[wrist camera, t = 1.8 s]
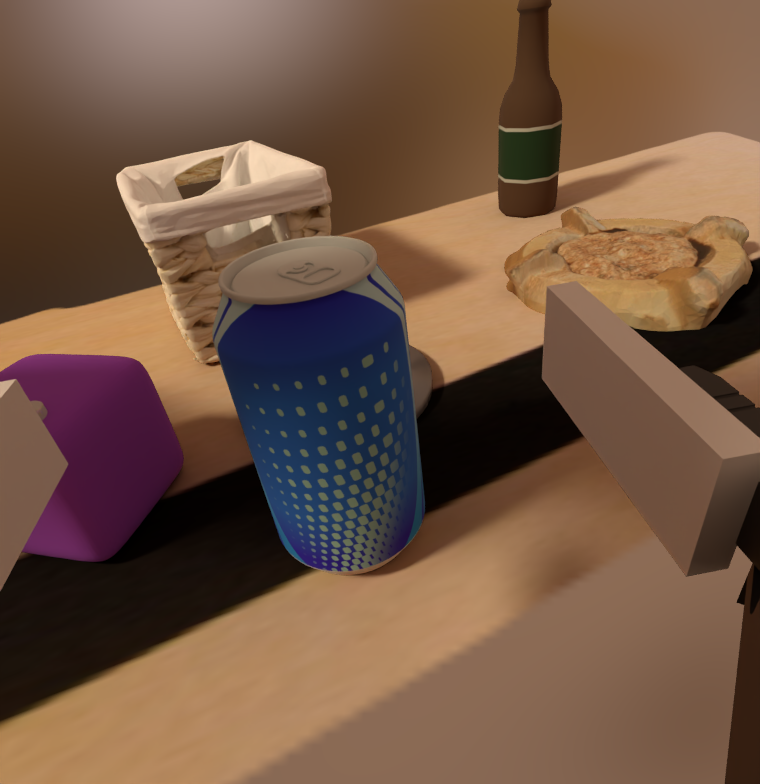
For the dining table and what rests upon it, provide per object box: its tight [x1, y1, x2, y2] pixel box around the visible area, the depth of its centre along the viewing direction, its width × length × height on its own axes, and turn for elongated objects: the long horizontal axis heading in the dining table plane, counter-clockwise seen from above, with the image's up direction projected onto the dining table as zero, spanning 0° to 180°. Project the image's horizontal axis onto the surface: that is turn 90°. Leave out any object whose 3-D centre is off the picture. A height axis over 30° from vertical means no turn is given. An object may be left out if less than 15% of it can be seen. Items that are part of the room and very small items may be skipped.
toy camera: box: [0, 354, 184, 562], centre depth 32 cm, size 11×14×10 cm
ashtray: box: [504, 207, 753, 331], centre depth 52 cm, size 24×24×5 cm
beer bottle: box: [498, 0, 562, 218], centre depth 67 cm, size 8×8×24 cm
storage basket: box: [116, 140, 332, 364], centre depth 54 cm, size 24×16×15 cm
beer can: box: [212, 236, 425, 575], centre depth 26 cm, size 8×8×16 cm
